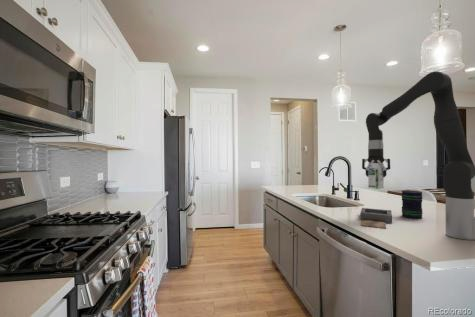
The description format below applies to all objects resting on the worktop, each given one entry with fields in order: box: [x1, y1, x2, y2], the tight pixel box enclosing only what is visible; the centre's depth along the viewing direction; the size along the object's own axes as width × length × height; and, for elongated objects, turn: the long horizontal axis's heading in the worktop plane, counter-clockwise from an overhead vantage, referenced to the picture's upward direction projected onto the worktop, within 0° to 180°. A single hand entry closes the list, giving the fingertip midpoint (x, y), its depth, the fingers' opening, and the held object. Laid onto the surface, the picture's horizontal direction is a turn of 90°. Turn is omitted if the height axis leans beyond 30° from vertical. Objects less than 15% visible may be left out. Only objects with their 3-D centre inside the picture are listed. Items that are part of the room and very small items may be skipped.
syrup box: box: [367, 162, 385, 190], centre depth 137 cm, size 6×6×14 cm
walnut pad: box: [360, 220, 387, 230], centre depth 125 cm, size 11×11×1 cm
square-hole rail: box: [359, 207, 393, 224], centre depth 137 cm, size 15×15×4 cm
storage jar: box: [401, 189, 423, 220], centre depth 140 cm, size 10×10×15 cm
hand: (375, 176), depth 137 cm, fingers closed on syrup box, 7 cm apart
